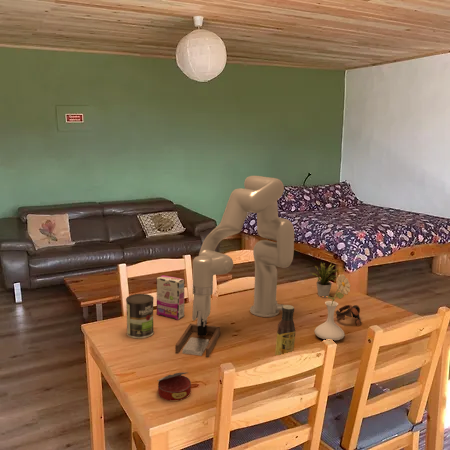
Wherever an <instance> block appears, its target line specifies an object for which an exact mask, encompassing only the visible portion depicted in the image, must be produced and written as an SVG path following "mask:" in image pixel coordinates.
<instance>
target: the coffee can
mask: <svg viewBox="0 0 450 450" xmlns="http://www.w3.org/2000/svg"><path fill="white" fill-rule="evenodd" d="M154 300H155V299H154V297H153V295H150V294H147V293H146V294H145V293H136V294H131V295H129V296H127V297H126V298H125V302H126V335H127V336H128V337H129V338H131V339H137V340H138V339H141V340H142V339H146V338H150V337H151V336H153V335H154Z"/></svg>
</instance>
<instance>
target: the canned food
mask: <svg viewBox="0 0 450 450" xmlns="http://www.w3.org/2000/svg"><path fill="white" fill-rule="evenodd" d="M186 374H188V372H176V373H172V374H168V375H166V376H163V377H161V378H159V379H158V380H157V382H158V383H157V388H158V390H157V392H158V396H159V397H160V398H161V399H162V400H165V399H166V401H170V400H178V401H181V399H182V400H184V399H186V398H188V397H189V396H190V395H191V393H190V392H191V391H192V390H191V389H192V388H191V386H192V382H191V380H190V378H188V377H187V376H186ZM189 394H190V395H189ZM188 395H189V396H188ZM187 396H188V397H187Z"/></svg>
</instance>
